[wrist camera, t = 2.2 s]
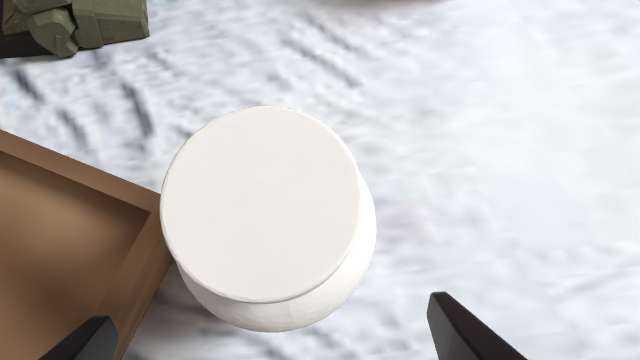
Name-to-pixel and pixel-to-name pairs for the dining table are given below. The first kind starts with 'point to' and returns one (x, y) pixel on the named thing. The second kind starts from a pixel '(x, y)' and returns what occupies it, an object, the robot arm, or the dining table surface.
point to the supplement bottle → (268, 219)
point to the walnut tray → (72, 249)
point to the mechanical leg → (68, 25)
